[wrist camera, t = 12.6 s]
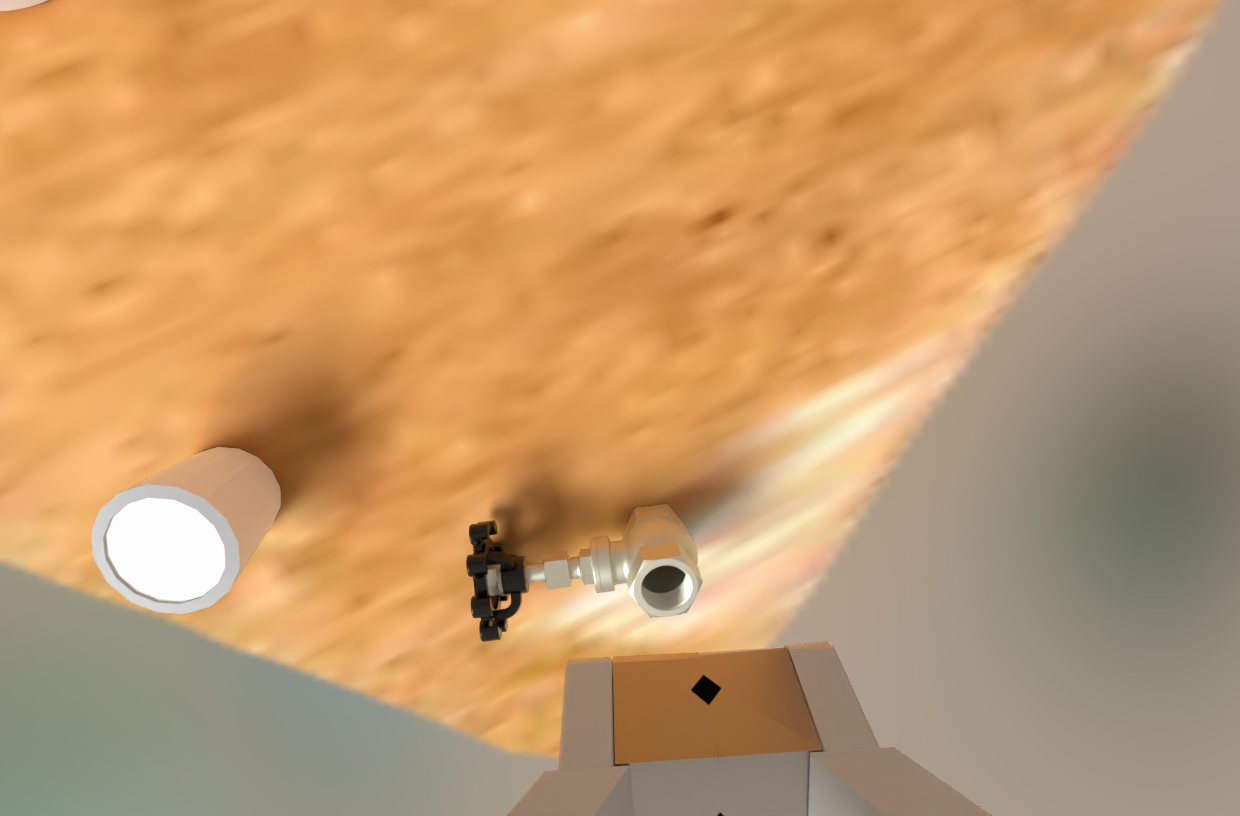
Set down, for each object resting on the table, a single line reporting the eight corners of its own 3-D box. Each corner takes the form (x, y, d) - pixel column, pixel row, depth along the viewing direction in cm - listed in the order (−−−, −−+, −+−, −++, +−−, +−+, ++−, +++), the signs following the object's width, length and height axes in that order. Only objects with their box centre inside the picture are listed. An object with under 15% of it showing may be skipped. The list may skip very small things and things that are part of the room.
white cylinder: (316, 484, 43) (267, 541, 36) (250, 570, 44) (191, 640, 37) (208, 411, 41) (136, 456, 34) (143, 502, 42) (61, 562, 36)
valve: (683, 474, 44) (477, 500, 44) (701, 523, 37) (459, 555, 37) (694, 575, 46) (496, 600, 45) (711, 638, 39) (482, 668, 39)
